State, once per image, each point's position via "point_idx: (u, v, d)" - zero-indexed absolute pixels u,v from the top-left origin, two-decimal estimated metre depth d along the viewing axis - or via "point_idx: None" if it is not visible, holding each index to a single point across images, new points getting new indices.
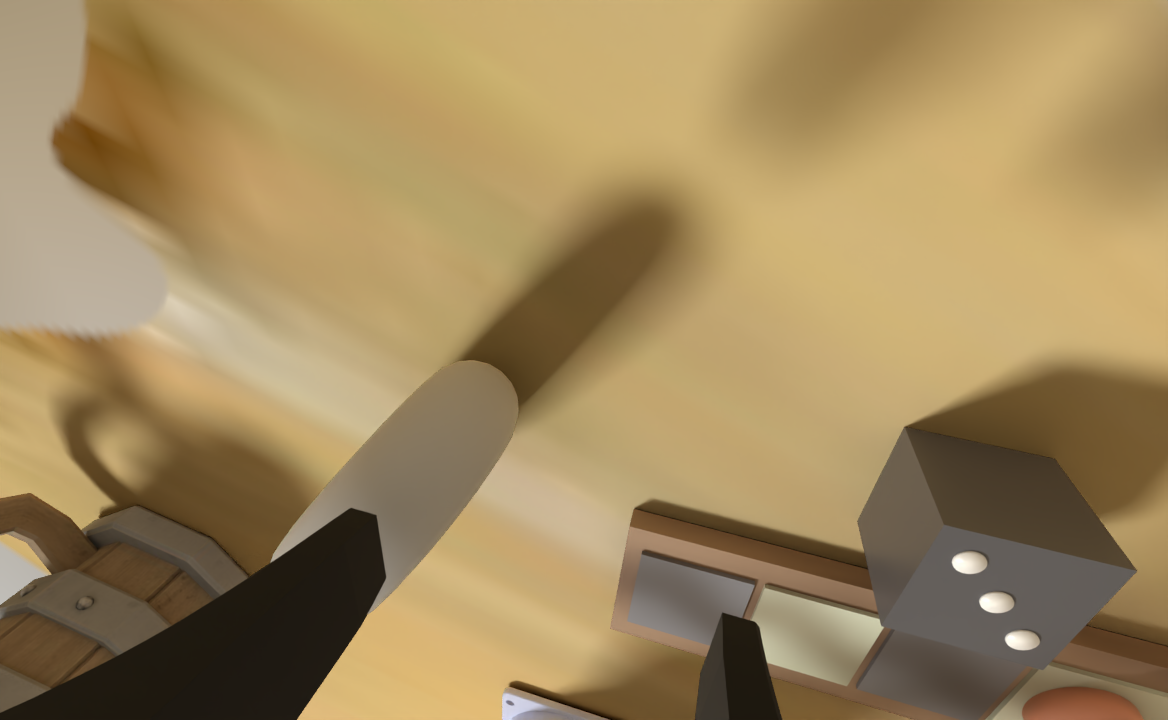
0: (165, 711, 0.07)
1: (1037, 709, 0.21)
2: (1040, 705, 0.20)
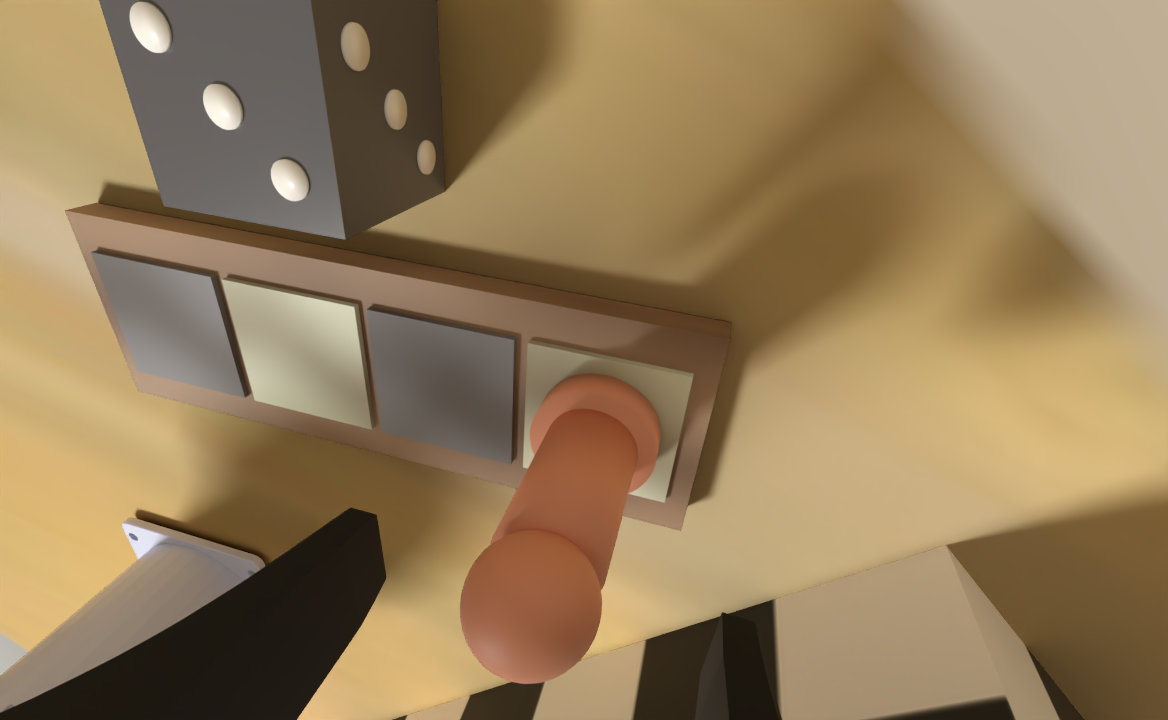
0: (165, 711, 0.07)
1: None
2: None
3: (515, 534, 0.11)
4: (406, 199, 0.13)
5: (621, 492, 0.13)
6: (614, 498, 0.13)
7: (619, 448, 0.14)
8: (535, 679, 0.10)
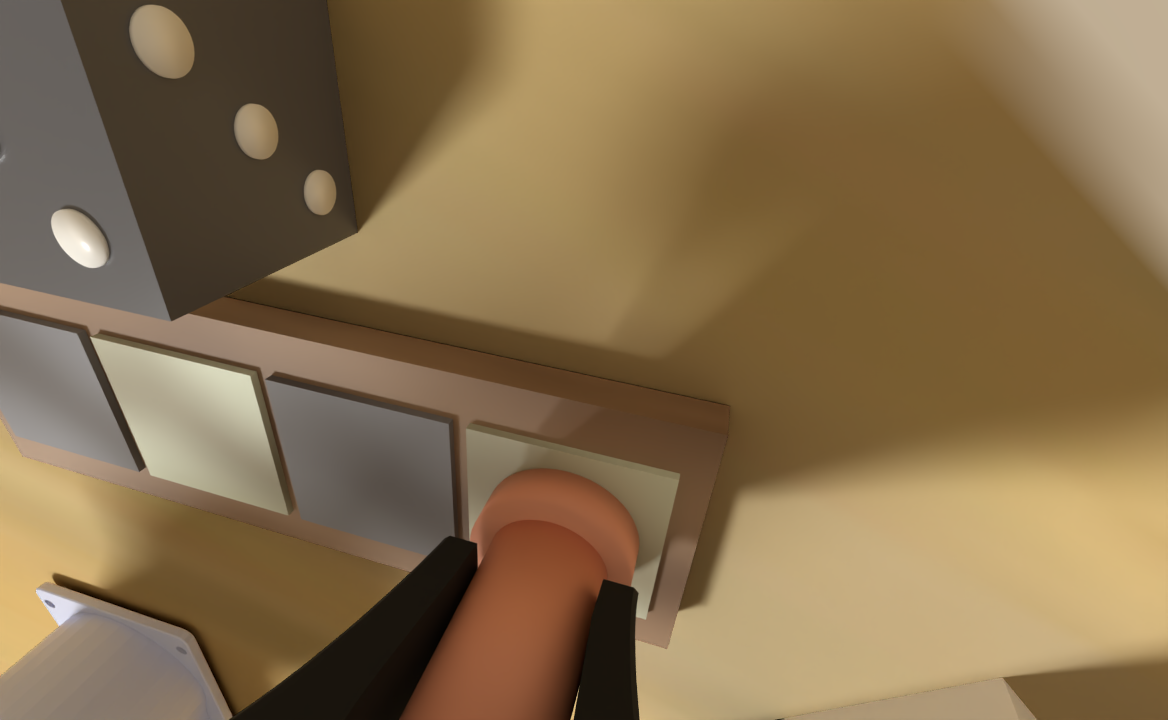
0: None
1: None
2: (484, 507, 0.12)
3: None
4: (288, 251, 0.10)
5: (578, 651, 0.10)
6: (567, 668, 0.09)
7: (579, 581, 0.10)
8: None
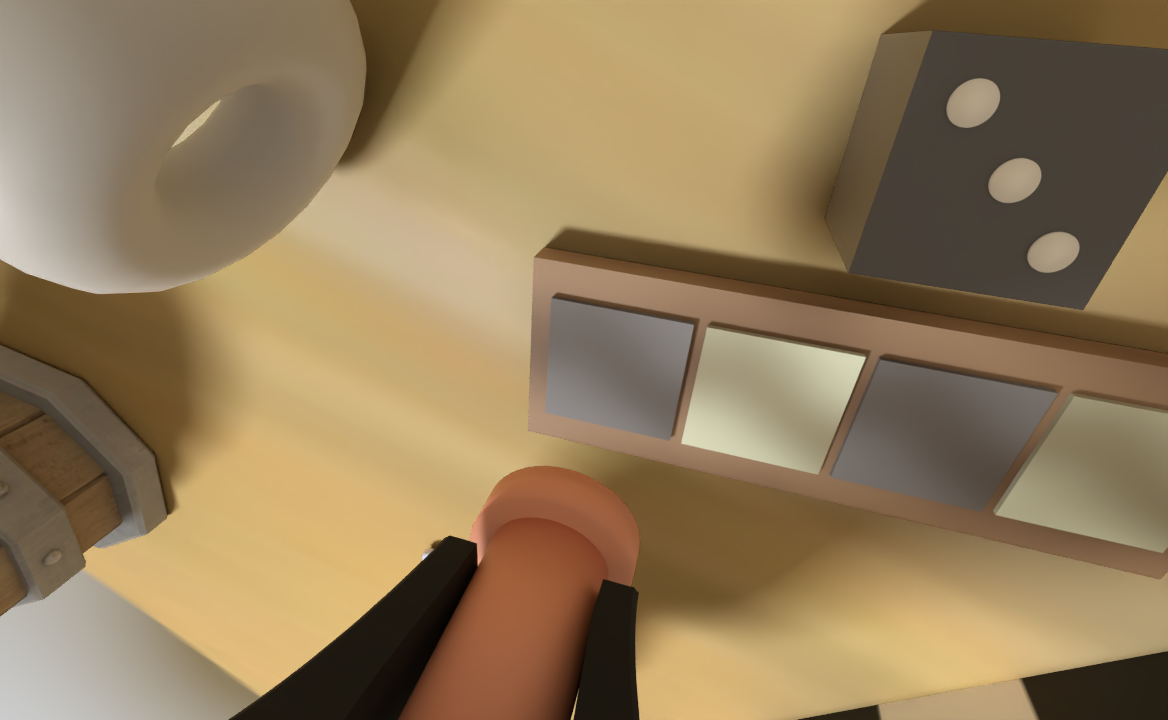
0: None
1: None
2: None
3: None
4: None
5: (579, 649, 0.09)
6: (567, 666, 0.09)
7: (580, 579, 0.10)
8: None
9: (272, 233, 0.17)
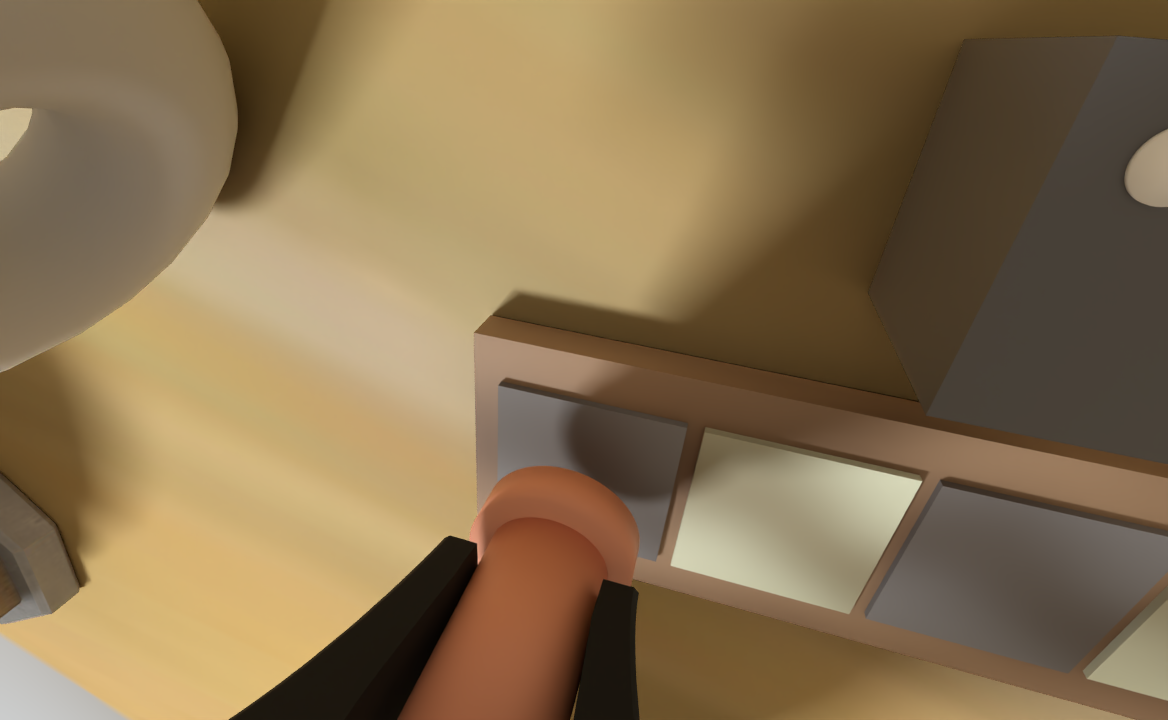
0: None
1: None
2: (483, 505, 0.12)
3: None
4: None
5: (578, 649, 0.09)
6: (567, 666, 0.09)
7: (579, 579, 0.10)
8: None
9: (117, 302, 0.12)
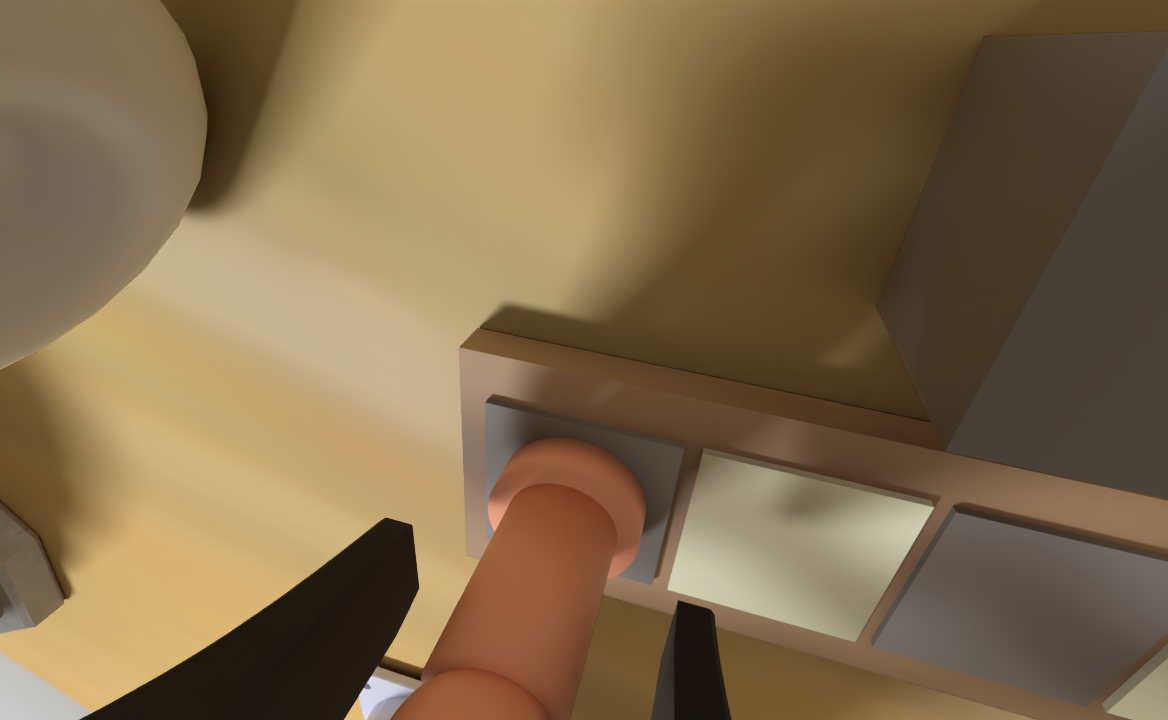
0: None
1: None
2: None
3: (444, 682, 0.08)
4: None
5: (592, 600, 0.10)
6: (582, 612, 0.10)
7: (592, 538, 0.11)
8: None
9: (80, 315, 0.12)
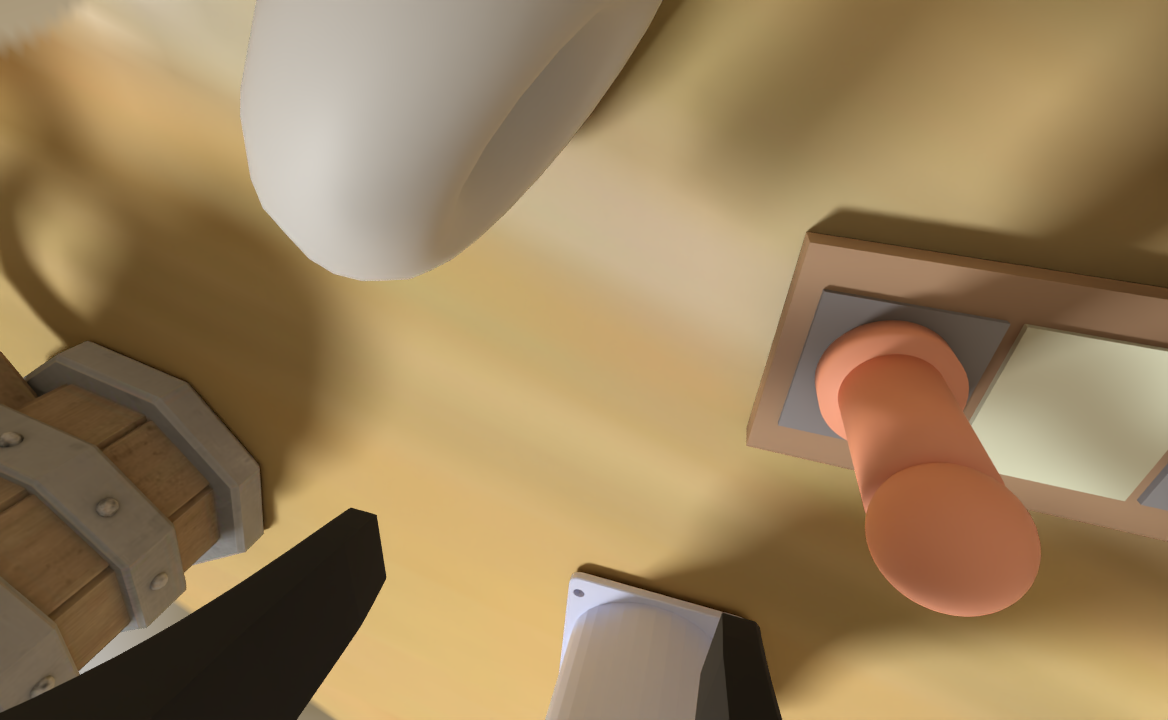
0: (165, 711, 0.07)
1: (823, 363, 0.15)
2: (827, 356, 0.15)
3: (929, 466, 0.11)
4: None
5: None
6: (977, 438, 0.12)
7: (950, 391, 0.13)
8: (994, 609, 0.10)
9: (506, 211, 0.14)
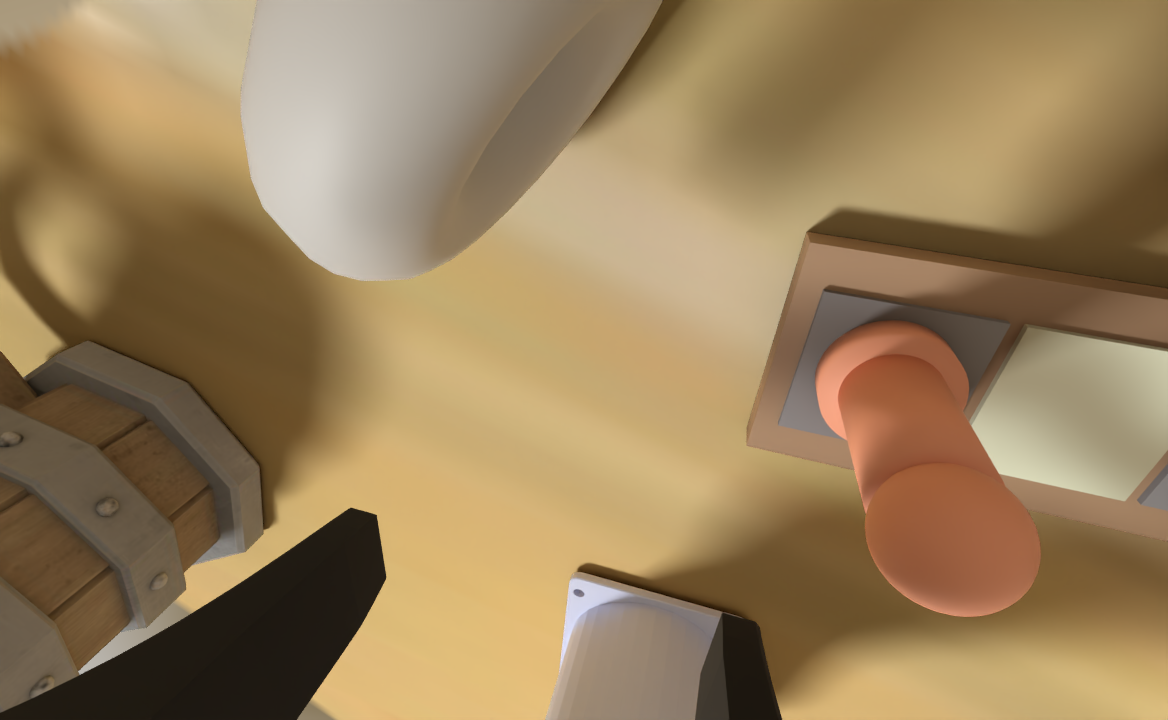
0: (164, 711, 0.07)
1: (823, 363, 0.15)
2: (827, 356, 0.15)
3: (929, 466, 0.11)
4: None
5: None
6: (977, 438, 0.12)
7: (950, 392, 0.13)
8: (994, 609, 0.10)
9: (506, 211, 0.14)
